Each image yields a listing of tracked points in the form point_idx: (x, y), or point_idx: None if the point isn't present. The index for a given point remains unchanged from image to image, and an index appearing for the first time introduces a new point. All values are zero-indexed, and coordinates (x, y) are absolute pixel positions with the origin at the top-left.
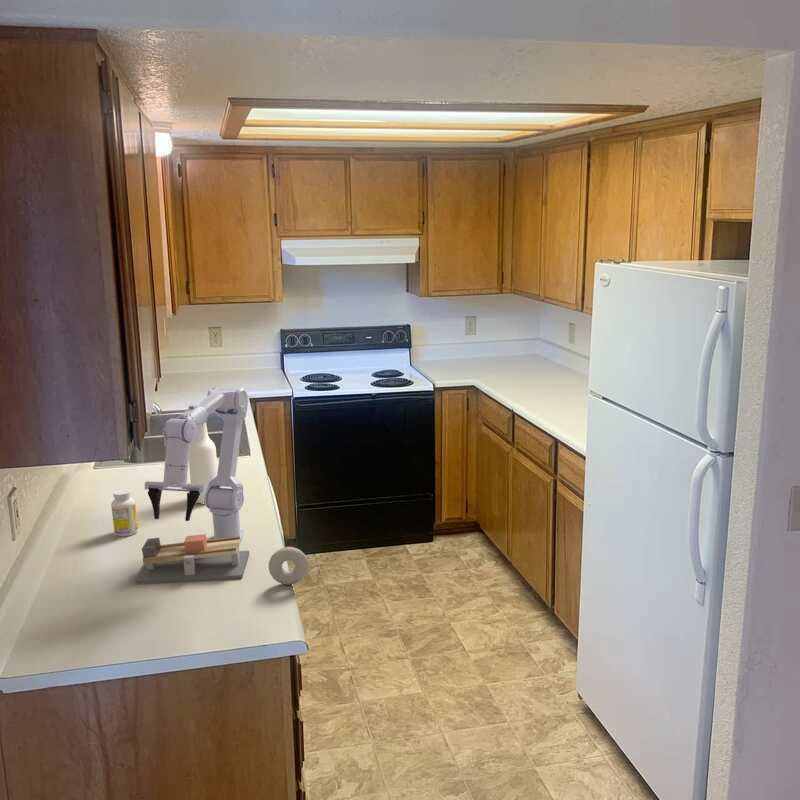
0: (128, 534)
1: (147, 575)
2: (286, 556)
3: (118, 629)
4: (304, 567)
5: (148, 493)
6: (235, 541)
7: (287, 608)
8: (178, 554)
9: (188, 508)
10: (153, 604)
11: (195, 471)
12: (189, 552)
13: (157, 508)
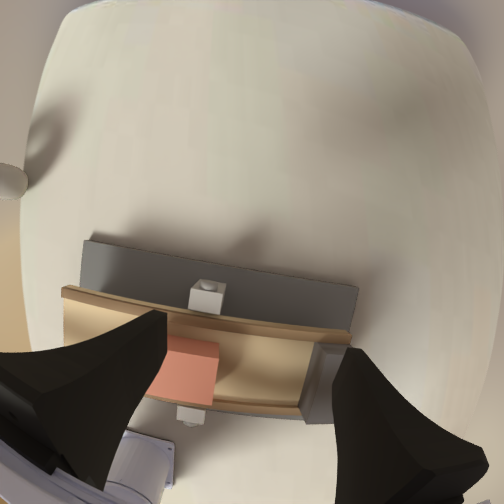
0: None
1: (329, 310)
2: None
3: (360, 75)
4: None
5: (483, 453)
6: None
7: (42, 90)
8: (240, 328)
9: (110, 340)
10: (303, 154)
11: None
12: (205, 341)
13: (361, 399)
